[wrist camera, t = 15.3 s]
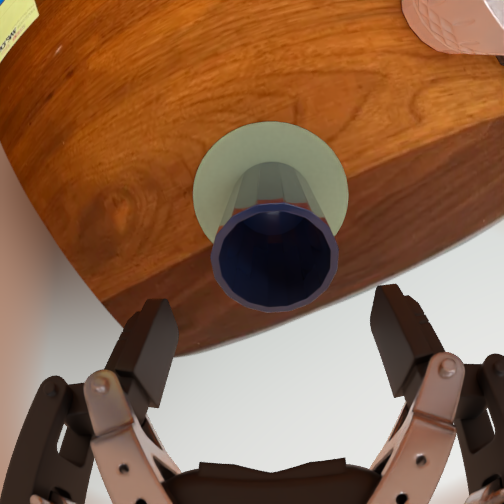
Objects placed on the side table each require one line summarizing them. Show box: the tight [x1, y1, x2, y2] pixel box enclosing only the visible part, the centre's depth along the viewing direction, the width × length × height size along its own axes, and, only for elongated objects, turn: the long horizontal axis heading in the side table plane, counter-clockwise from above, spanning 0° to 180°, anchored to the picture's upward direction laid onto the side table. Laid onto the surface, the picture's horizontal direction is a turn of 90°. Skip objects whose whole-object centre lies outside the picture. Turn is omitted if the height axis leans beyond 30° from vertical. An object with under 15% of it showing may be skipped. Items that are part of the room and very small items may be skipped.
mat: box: [193, 121, 348, 244], centre depth 21 cm, size 12×12×1 cm
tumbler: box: [210, 162, 339, 313], centre depth 17 cm, size 6×6×9 cm
